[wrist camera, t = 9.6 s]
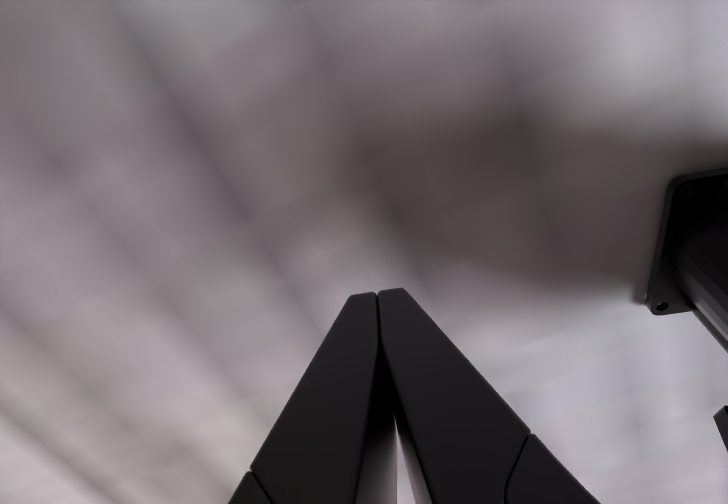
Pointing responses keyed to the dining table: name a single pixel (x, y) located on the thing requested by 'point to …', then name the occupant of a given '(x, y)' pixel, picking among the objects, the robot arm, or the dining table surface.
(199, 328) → the dining table surface
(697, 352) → the dining table surface
